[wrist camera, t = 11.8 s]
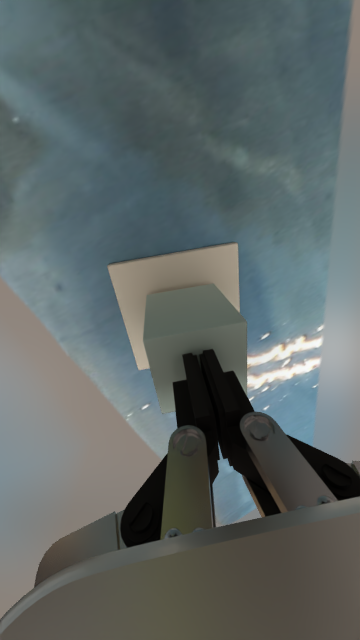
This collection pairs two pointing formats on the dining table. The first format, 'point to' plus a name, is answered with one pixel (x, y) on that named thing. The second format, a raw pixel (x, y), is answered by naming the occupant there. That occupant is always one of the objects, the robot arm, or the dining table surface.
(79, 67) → the dining table surface
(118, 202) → the dining table surface
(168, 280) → the pillar on square stand
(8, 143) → the dining table surface
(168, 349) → the sage green rectangular block
